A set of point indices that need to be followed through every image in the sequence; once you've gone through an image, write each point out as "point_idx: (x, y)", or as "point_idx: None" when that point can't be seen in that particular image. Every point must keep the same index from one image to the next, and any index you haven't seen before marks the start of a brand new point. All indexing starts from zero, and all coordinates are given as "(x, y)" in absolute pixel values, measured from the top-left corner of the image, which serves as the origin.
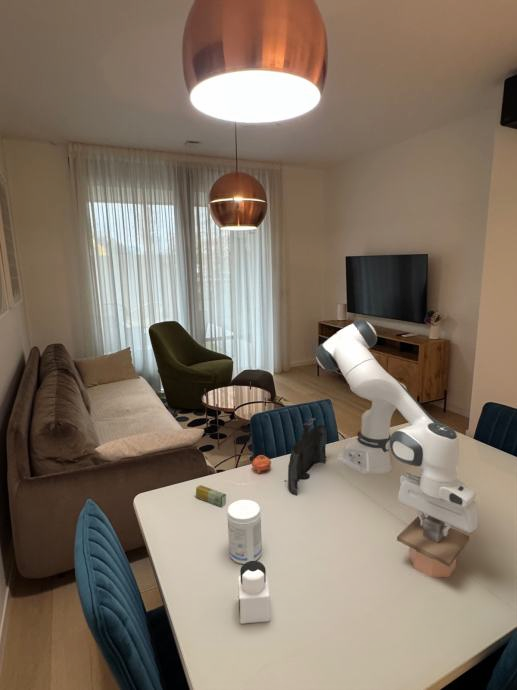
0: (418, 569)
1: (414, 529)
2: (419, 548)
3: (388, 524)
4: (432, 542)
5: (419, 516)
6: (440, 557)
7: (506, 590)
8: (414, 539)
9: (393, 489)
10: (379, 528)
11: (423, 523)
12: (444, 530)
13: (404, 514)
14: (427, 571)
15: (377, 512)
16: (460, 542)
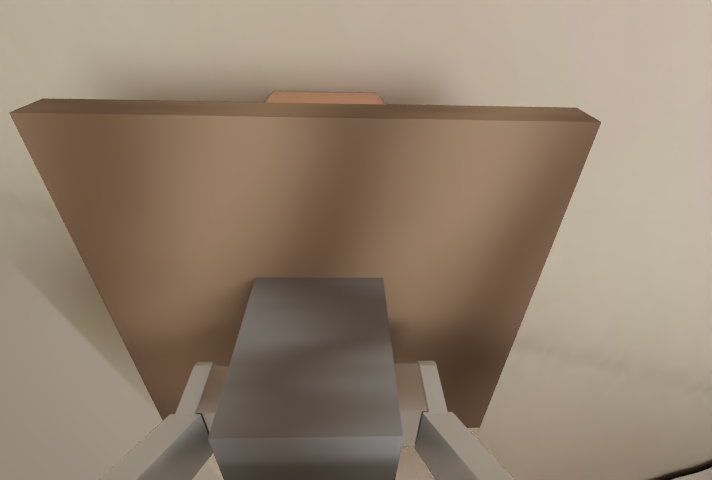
0: (354, 97)
1: (468, 306)
2: (341, 114)
3: (588, 302)
4: (290, 263)
5: (473, 449)
6: (117, 125)
7: (29, 260)
8: (429, 200)
9: (598, 451)
10: (629, 256)
11: (411, 388)
12: (188, 416)
13: (533, 380)
14: (295, 100)
15: (650, 335)
16: (160, 370)
